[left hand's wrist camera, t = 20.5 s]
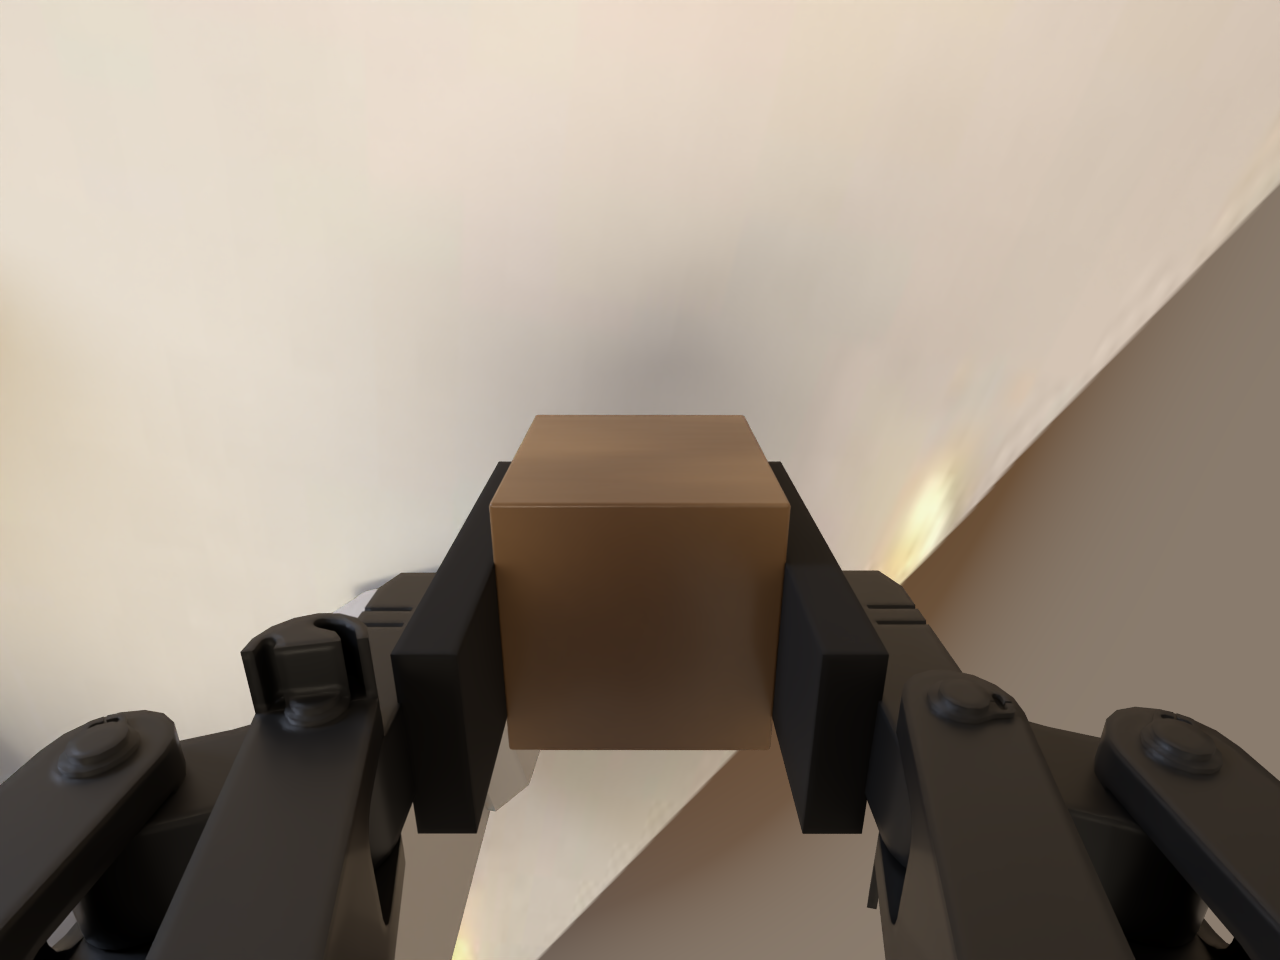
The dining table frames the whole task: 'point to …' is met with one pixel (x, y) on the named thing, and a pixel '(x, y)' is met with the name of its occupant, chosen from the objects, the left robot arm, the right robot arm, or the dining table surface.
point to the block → (639, 584)
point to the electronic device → (446, 855)
